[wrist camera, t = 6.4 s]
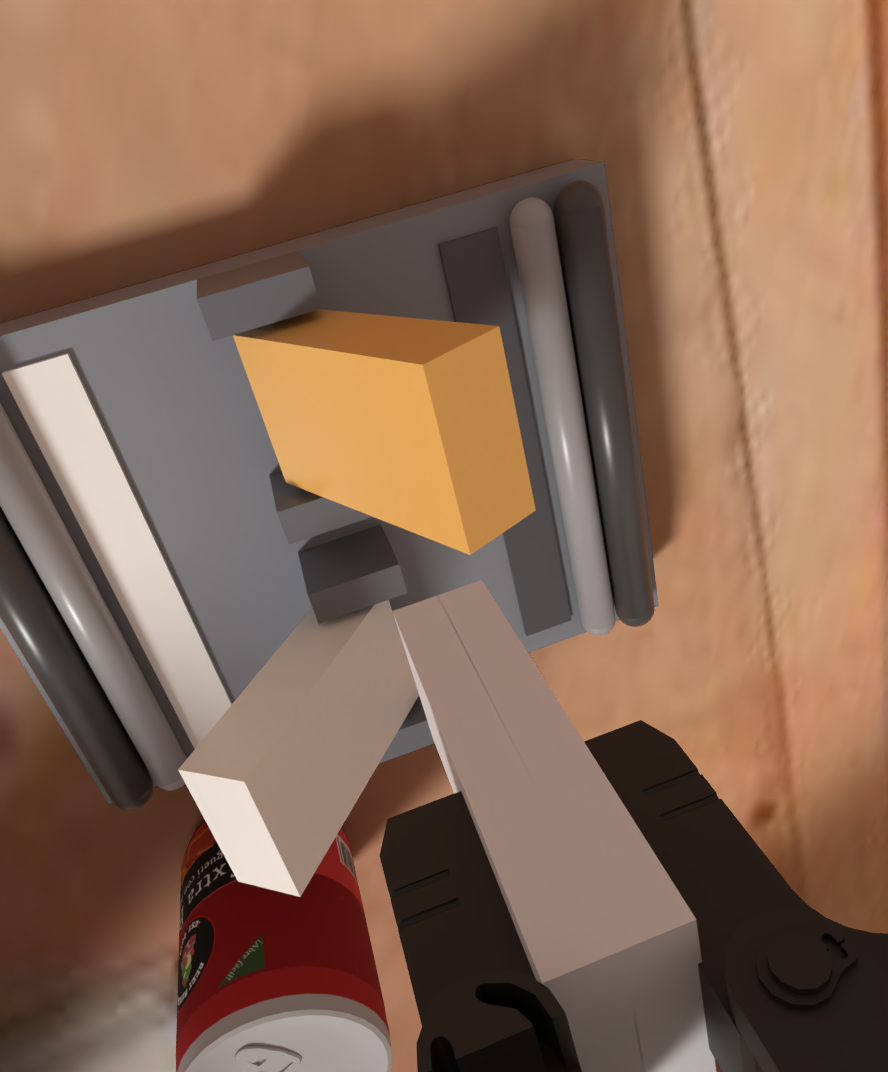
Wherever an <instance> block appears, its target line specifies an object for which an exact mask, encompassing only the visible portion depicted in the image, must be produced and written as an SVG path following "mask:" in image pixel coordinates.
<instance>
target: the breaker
mask: <svg viewBox="0 0 888 1072" xmlns="http://www.w3.org/2000/svg"><path fill="white" fill-rule="evenodd" d="M418 696H419V694H418V691H417V688H416V684H415V681H414V678H413V675H412V672H411V669H410V666H409V662H408V659H407V656H406V653H405V650H404V647H403V643H402V640H401V637H400V634H399V631H398V628H397V625H396V621H395V618H394V615H393V612H392V609H391V606H390V603H389V600H387V601H384V602H381V603H378V604H375V605H372V606H369V607H366V608H363V609H361V610H358V611H355V612H352V613H349V614H346V615H343V616H340V617H337V618H334V619H332V620H329V621H326V622H323V623H320V624H318V621H317V619H316V616H315V613H314V611H313V608H311V610H310V611H309V612H308V613H307V614H306V616H305V617H304V618H303V619H302V620H301V622H300V623H299V624H298V625H297V626H296V628H295V629H294V630H293V631H292V632H291V634H290V635H289V636H288V637H287V639H286V640H285V641H284V642H283V643H282V645H281V646H280V647H279V648H278V649H277V651H276V652H275V653H274V654H273V655H272V657H271V658H270V659H269V660H268V661H267V663H266V664H265V665H264V666H263V668H262V669H261V670H260V671H259V672H258V674H257V675H256V676H255V677H254V678H253V680H252V681H251V682H250V683H249V684H248V686H247V687H246V688H245V689H244V691H243V692H242V693H241V694H240V695H239V697H238V698H237V699H236V700H235V701H234V703H233V704H232V705H231V706H230V707H229V709H228V710H227V711H226V712H225V713H224V715H223V716H222V717H221V718H220V720H219V721H218V722H217V723H216V724H215V726H214V727H213V728H212V729H211V730H210V732H209V733H208V734H207V735H206V736H205V738H204V739H203V740H202V741H201V743H200V744H199V745H198V746H197V747H196V749H195V750H194V751H193V752H192V753H191V755H190V756H189V757H188V758H187V759H186V761H185V762H184V763H183V764H182V765H181V767H180V768H179V769H178V771H179V772H180V774H181V776H182V778H183V780H184V782H185V784H186V785H187V787H188V789H189V791H190V793H191V795H192V797H193V799H194V800H195V802H196V804H197V806H198V808H199V810H200V812H201V813H202V815H203V817H204V819H205V821H206V823H207V825H208V826H209V828H210V830H211V832H212V834H213V836H214V838H215V840H216V841H217V843H218V845H219V847H220V849H221V851H222V853H223V854H224V856H225V858H226V860H227V862H228V864H229V866H230V867H231V869H232V871H233V873H234V875H235V877H236V879H237V881H238V882H242V883H246V884H250V885H254V886H258V887H262V888H266V889H270V890H274V891H278V892H282V893H286V894H290V895H294V896H298V897H301V895H302V893H303V892H304V890H305V888H306V887H307V885H308V883H309V881H310V880H311V878H312V876H313V875H314V873H315V871H316V870H317V868H318V866H319V864H320V863H321V861H322V859H323V858H324V856H325V854H326V853H327V851H328V849H329V847H330V846H331V844H332V842H333V841H334V839H335V837H336V836H337V834H338V832H339V830H340V829H341V827H342V825H343V824H344V822H345V820H346V819H347V817H348V815H349V813H350V812H351V810H352V808H353V807H354V805H355V803H356V802H357V800H358V798H359V796H360V795H361V793H362V791H363V790H364V788H365V786H366V785H367V783H368V781H369V779H370V778H371V776H372V774H373V773H374V771H375V769H376V768H377V766H378V764H379V762H380V761H381V759H382V757H383V756H384V754H385V752H386V751H387V749H388V747H389V745H390V744H391V742H392V740H393V739H394V737H395V735H396V734H397V732H398V730H399V728H400V727H401V725H402V723H403V722H404V720H405V718H406V717H407V715H408V713H409V711H410V710H411V708H412V706H413V705H414V703H415V701H416V700H417V698H418Z"/></svg>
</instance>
